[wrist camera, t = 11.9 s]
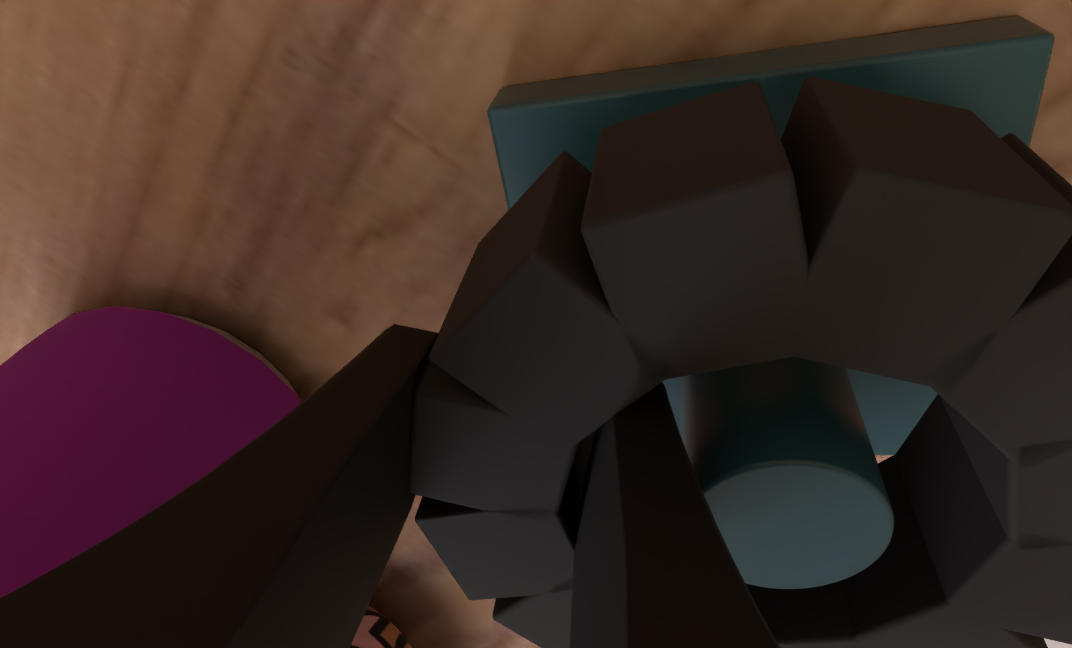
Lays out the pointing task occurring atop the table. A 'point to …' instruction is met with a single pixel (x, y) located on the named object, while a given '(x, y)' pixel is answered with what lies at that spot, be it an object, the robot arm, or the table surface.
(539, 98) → the teal base plate
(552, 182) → the tire
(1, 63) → the table surface
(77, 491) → the beverage can
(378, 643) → the toy
